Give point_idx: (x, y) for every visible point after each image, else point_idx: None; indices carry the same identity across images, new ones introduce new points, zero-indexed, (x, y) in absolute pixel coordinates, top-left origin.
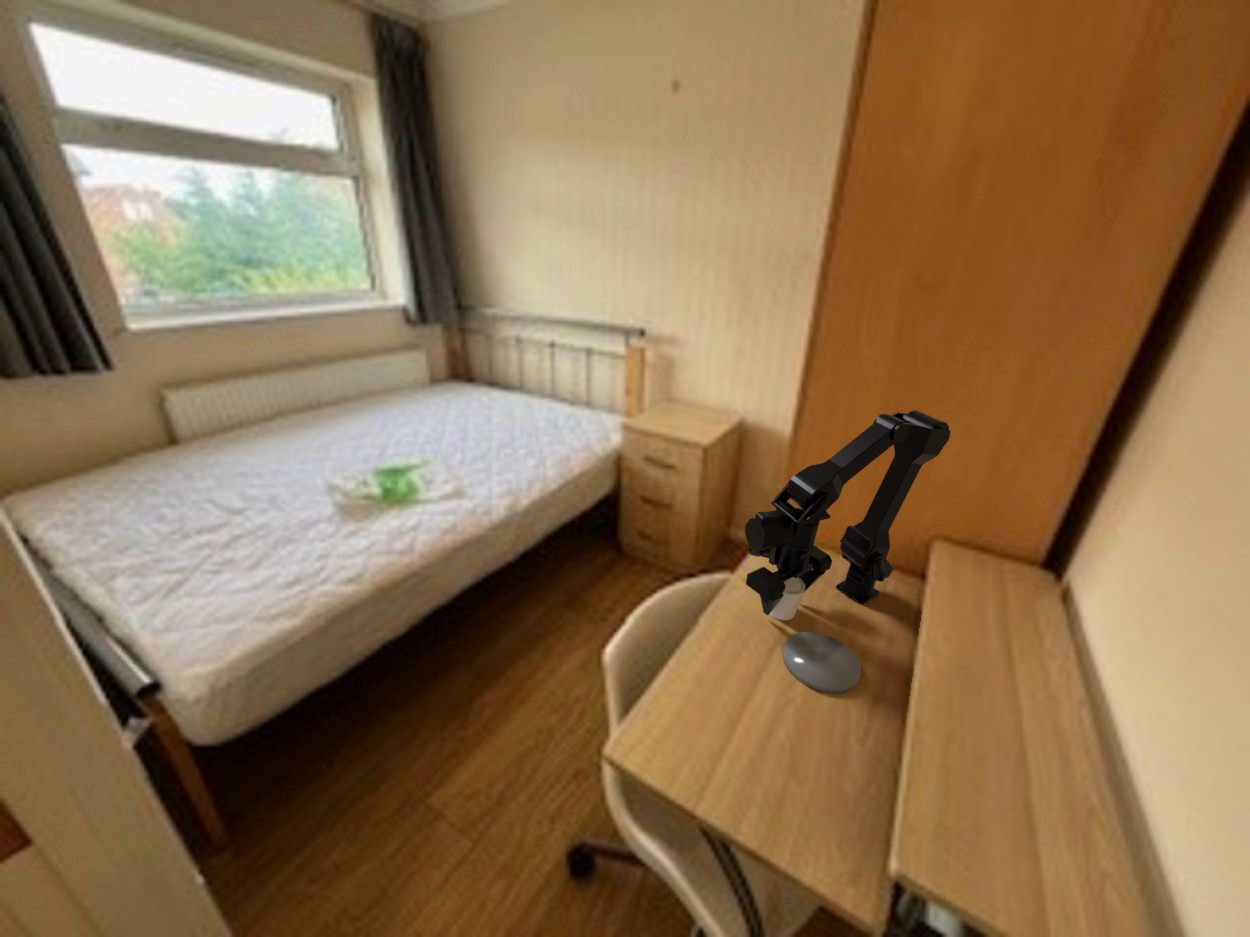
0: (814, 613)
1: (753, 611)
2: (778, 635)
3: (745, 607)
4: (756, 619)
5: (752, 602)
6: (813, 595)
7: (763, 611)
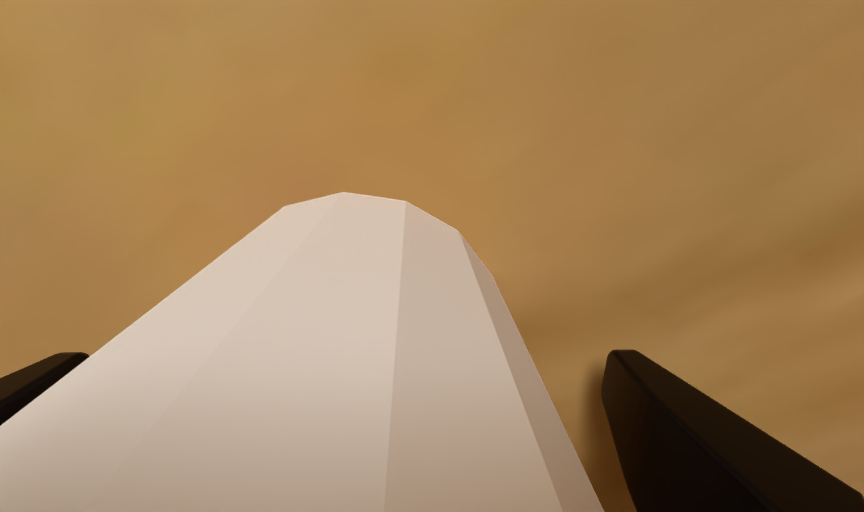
0: (589, 472)
1: (78, 198)
2: None
3: (13, 98)
4: (46, 290)
5: (156, 81)
6: (829, 355)
7: (46, 361)
